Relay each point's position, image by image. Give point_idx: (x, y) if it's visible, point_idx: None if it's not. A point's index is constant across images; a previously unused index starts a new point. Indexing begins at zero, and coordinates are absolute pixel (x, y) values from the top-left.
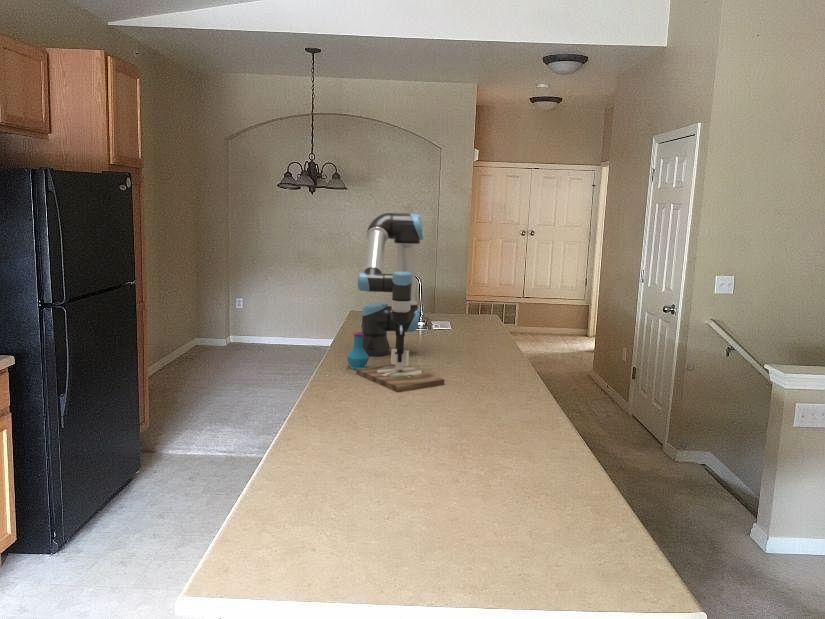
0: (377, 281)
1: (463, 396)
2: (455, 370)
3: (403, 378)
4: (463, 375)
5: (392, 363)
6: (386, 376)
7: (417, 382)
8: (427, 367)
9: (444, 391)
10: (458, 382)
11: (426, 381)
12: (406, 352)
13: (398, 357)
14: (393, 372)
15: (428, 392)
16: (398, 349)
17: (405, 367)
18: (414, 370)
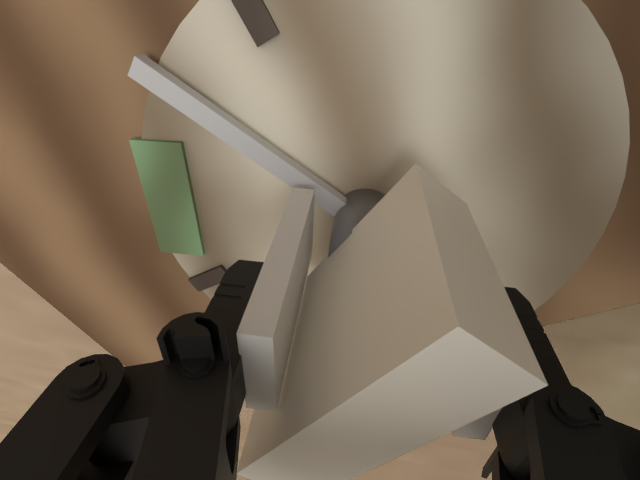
0: None
1: (20, 398)
2: (481, 475)
3: (129, 212)
4: (375, 473)
5: (399, 186)
6: (158, 50)
7: (52, 285)
8: (609, 401)
9: (63, 360)
10: (245, 434)
11: (103, 334)
12: (241, 459)
13: (210, 311)
14: (238, 149)
15: (4, 296)
16: (18, 451)
17: (515, 286)
18: None
